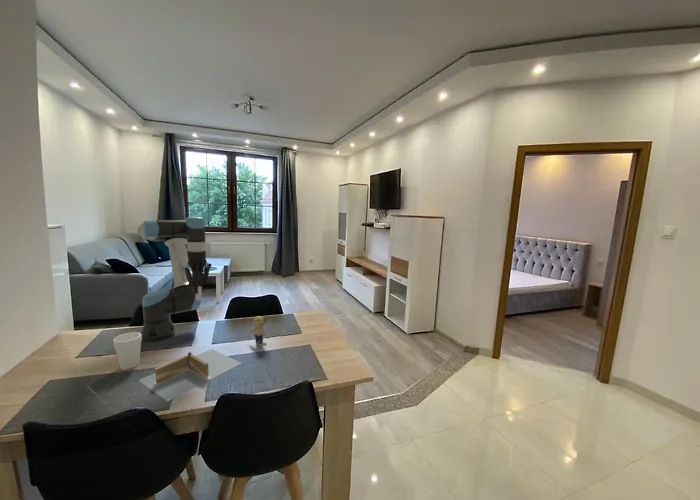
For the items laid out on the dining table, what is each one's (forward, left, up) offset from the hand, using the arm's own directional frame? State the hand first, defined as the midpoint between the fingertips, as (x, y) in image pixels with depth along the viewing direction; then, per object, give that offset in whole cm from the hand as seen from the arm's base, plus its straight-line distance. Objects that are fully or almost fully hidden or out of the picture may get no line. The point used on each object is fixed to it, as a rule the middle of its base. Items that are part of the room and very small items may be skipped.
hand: (198, 299), depth 137 cm
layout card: (+17, -14, -24) cm, 33 cm away
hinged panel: (+20, -13, -24) cm, 34 cm away
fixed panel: (+14, -20, -24) cm, 34 cm away
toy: (+20, +19, -25) cm, 37 cm away
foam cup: (-9, -26, -25) cm, 37 cm away
